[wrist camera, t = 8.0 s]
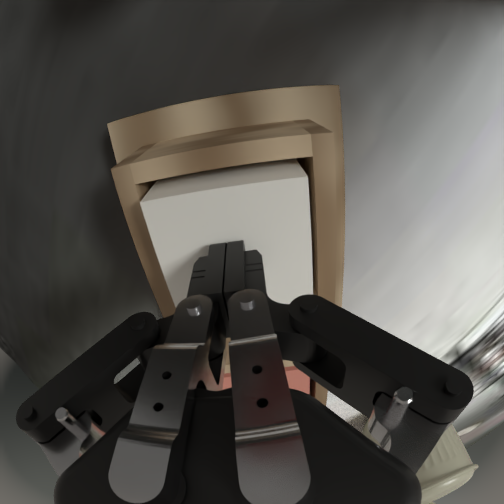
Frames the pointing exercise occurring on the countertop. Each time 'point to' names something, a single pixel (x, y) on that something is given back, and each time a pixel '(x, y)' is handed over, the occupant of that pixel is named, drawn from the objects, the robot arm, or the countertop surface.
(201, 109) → the frame
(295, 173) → the white key
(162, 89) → the countertop surface
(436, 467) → the canister
